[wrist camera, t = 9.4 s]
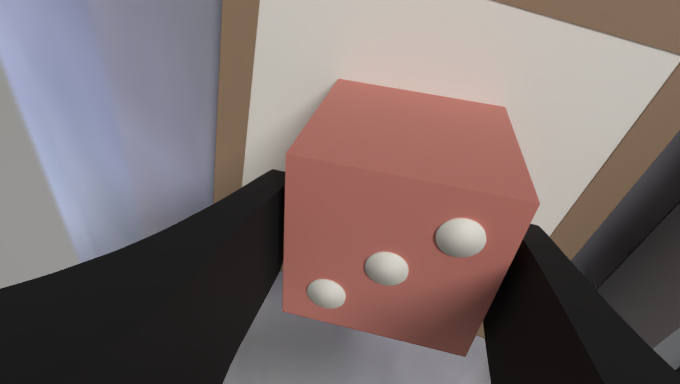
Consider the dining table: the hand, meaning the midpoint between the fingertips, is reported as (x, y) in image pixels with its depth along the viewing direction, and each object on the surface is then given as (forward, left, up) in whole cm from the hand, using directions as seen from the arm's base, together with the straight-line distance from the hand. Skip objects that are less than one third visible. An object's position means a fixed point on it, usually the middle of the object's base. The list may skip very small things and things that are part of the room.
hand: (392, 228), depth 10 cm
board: (0, 0, -4) cm, 4 cm away
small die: (0, 0, -3) cm, 3 cm away
